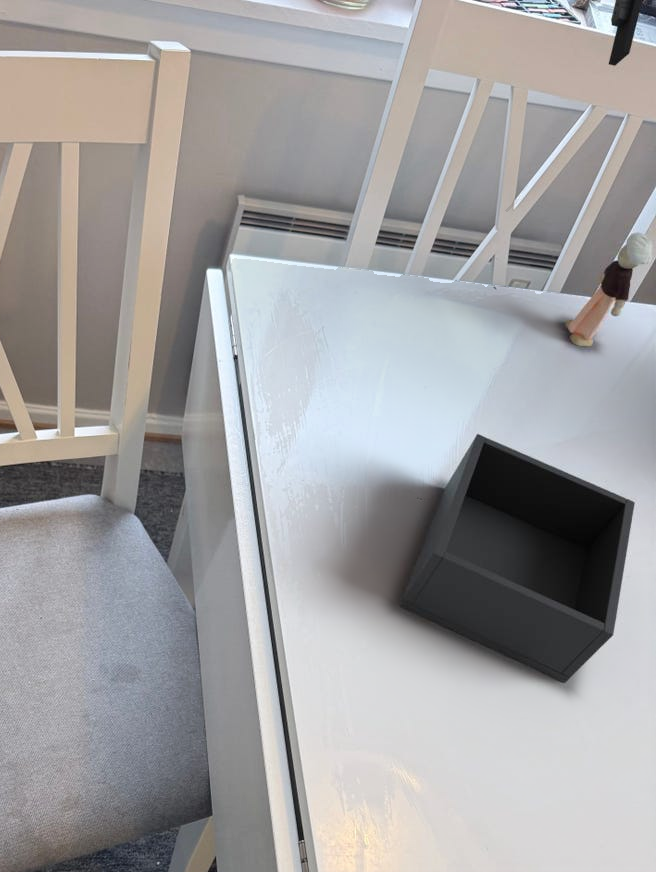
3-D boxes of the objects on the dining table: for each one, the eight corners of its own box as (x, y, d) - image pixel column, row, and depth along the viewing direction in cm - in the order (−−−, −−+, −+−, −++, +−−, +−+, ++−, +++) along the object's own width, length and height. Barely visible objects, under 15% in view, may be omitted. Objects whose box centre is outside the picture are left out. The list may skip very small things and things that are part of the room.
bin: (591, 553, 80) (635, 501, 75) (565, 683, 70) (613, 635, 65) (444, 488, 82) (477, 433, 76) (399, 606, 72) (433, 553, 67)
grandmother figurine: (553, 316, 104) (614, 214, 94) (581, 319, 105) (645, 218, 94) (576, 357, 99) (643, 255, 89) (605, 359, 100) (675, 259, 90)
